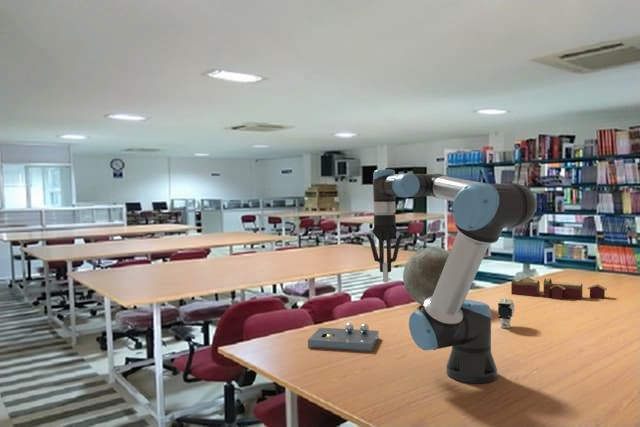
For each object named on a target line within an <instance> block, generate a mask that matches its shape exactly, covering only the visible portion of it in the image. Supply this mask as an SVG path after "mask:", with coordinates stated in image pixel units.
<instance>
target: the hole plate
mask: <svg viewBox="0 0 640 427" xmlns="http://www.w3.org/2000/svg"><path fill="white" fill-rule="evenodd" d="M379 333H380V332H379V330H370V329H369V330H368V332H366V333H363V332H361V330H360V329H353V331H351V332H348V331H346V329H345V328H334V327H332V328H331V327H319V328H318V329H317V330H316V331H315V332H314V333H313V334H312V335H311V336H310V337H309V338H308V339H307V348H308V349H320V350H321V349H322V350H333V351H334V350H336V351H350V352H353V351H354V352H365V353H366V352H367V353H372V352H373V350H374V348H375V346H376V345H377V343H378V341H379V337H380V336H379V335H380V334H379ZM329 334H330V335H332V336H333V337H332V338H326V336H327V335H329Z"/></svg>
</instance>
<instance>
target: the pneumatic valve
mask: <svg viewBox="0 0 640 427" xmlns="http://www.w3.org/2000/svg"><path fill="white" fill-rule="evenodd" d="M497 306H498V307H497V309H498V310H497V313H498V314H497V316H498V317H497V318H498V319H501V320H500V322H501V323H500V324H501V326H500V328H502V329H503V328H504V329H507V330H509V329H510V328H511V319H512V318H513V315H514V313H515V302H514V300H512V299H507V298H504V299H503V298H501V299H500V300H499V302H498V303H497Z"/></svg>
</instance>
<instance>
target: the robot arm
mask: <svg viewBox="0 0 640 427" xmlns="http://www.w3.org/2000/svg"><path fill="white" fill-rule="evenodd" d="M372 175H373V178H372V190H373V191H372V192H373V193H372V194H373V195H372V196H373V214H374V215H373V228H372V231H371V232H369V233H367V234H366V239H367V240H368V241H369V243H370V248H371V253H372V256H373V259H374V262H378V263H379V272H380V273H382V283H388V282H389V273H391V271H392V263H394V262H396V261H397V258H398V254H399V249H400V245H401V241H402V239H403V238H404V234H403V233H401V232H399V231H398V228H397V225H396V224H397V221H396V220H397V219H396V214H395V213H396V198H409V197H410V198H411V197H433V198H436V199H442V200H446V201H449V202H452V207H451V211H453V213H452V217H453V221H454V226H455V229H456V231H457V233H456V236H455V239H454V241H453V243H452V246H451V248H450V251H449V252H450V253H449V256H448V258H447V261H446V263H445V266H444V268H443V271H442V273H441V276H440V278H439V281H438V283H437V286H436V288H435V291H434V293H433V296H431V297H428V298H427V299H426V300H425V302H424V304H423V305H422V307H421V309H420V310H415V311H413V312H412V313H411V314H410V315H409V318H408V328H409V329H408V330H409V332H410V336H411V339H412V340H413V342H414V344H415V345H416V346H417V347H418V348H419V349H421V350H423V351H436V350H439V349H440V350H441V349H444V348H449V347H451V351H450V354H449V356H448V360H447V363H446V369H445V370H446V375H447V376H448V377H450V378H451V379H454V380H455V381H459V382H463V383H469V384H487V383H492V382H494V381H496V380H497V379H498V368H497V365H496V361H495V358H494V356H493V354H492V315H491V307H490V305H488V304H487V303H485V302H483V301H477V300H472V299H467V295H468V293H469V291H470V290H471V289H470V288H471V287H472V285H473V282H474V281H475V278H476V275H477V273H478V271H479V269H480V266H481V265H482V262H483V260H484V258H485V255H486V253H487V250H488V248H489V246H490V245H492V244H495V243H497V242H498V241H499V239H500V236H501V234H502V232H503V230H504V229H506V228H507V229H508V228H516V227H521V226H523V225H525V224H526V223H528V222H529V221H530V220H531V219H532V218H533V216H534V215H535V213H536V211H537V199H536V196H535V194H534V192H533V191H532V190H531V189H530V188H529V187H527V186H525V185H523V184H521V183H517V182H516V183H515V182H513V183H511V182H508V183H506V182H502V183H488V182H480V181H474V180H469V179H462V178H457V177H451V176H448V175H447V174H442V173H426V174H425V173H408V172H407V173H404V172H403V173H399V174H396V172H395V170H394V169H376V170H374V172H373V174H372ZM375 237H376V239H377V240H378V245H379V247H378V250H379V251H378V250H377V247H376V242H375V239H374V238H375ZM394 237H396V241H395V244H394V249H393V253H392V240H393V239H394ZM385 242H386V262H385V251H384V249H385V248H384V247H385V246H384V245H385V244H384V243H385ZM378 252H379V254H378ZM392 254H393V255H392Z"/></svg>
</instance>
